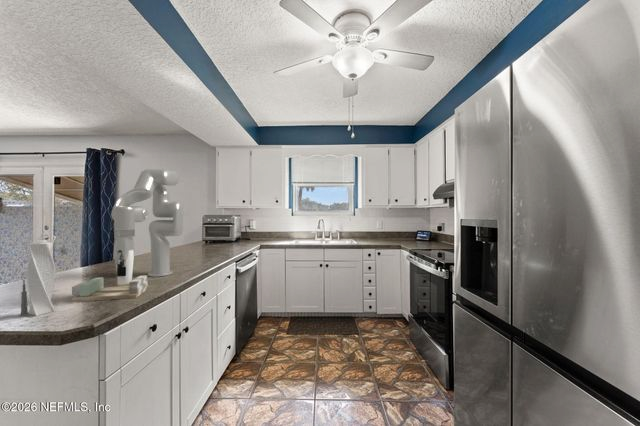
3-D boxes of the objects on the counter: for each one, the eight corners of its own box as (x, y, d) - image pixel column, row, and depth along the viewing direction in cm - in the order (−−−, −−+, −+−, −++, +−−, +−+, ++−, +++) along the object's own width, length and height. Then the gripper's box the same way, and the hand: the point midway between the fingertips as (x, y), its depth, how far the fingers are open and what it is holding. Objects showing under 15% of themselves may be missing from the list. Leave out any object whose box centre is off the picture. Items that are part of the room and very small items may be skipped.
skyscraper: (48, 308, 110) (48, 235, 110) (61, 310, 107) (61, 235, 107) (19, 315, 102) (18, 237, 102) (32, 318, 99) (31, 237, 99)
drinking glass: (136, 283, 129) (136, 250, 129) (119, 286, 123) (119, 251, 123) (129, 281, 132) (129, 249, 132) (112, 284, 127) (112, 250, 127)
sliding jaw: (85, 288, 130) (85, 278, 130) (103, 287, 131) (103, 277, 131) (68, 297, 117) (68, 285, 117) (88, 295, 119) (88, 284, 119)
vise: (92, 291, 132) (92, 277, 131) (148, 288, 137) (148, 274, 137) (71, 302, 116) (71, 286, 116) (136, 297, 122) (135, 282, 122)
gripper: (123, 232, 135) (123, 271, 135) (105, 235, 118) (105, 279, 118) (141, 232, 137) (141, 270, 137) (126, 235, 120) (126, 278, 120)
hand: (124, 274), depth 128 cm, fingers closed on drinking glass, 6 cm apart
